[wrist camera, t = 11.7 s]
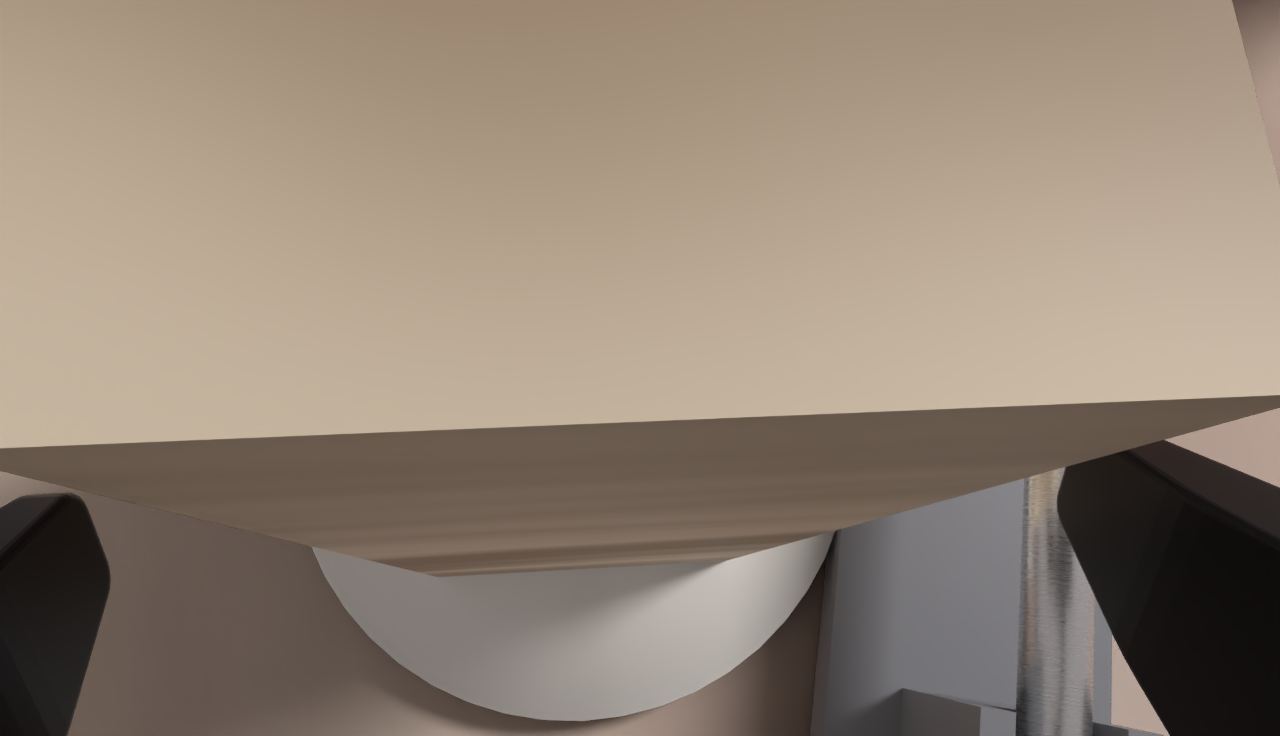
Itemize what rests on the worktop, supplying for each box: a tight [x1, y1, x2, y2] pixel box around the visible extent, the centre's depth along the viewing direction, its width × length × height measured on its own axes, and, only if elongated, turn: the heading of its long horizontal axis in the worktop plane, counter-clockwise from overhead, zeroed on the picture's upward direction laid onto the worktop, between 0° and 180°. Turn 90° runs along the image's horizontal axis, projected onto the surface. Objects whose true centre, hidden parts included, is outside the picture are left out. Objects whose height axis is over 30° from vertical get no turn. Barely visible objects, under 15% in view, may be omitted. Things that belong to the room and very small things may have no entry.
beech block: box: [0, 0, 1280, 577], centre depth 10 cm, size 5×5×13 cm
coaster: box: [311, 531, 835, 721], centre depth 17 cm, size 10×10×1 cm
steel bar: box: [1015, 467, 1094, 736], centre depth 14 cm, size 15×1×1 cm, turn 171°
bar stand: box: [810, 479, 1163, 736], centre depth 16 cm, size 18×5×4 cm, turn 171°
